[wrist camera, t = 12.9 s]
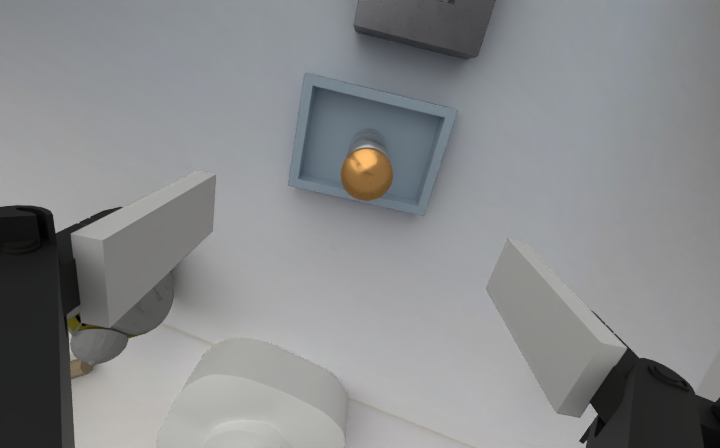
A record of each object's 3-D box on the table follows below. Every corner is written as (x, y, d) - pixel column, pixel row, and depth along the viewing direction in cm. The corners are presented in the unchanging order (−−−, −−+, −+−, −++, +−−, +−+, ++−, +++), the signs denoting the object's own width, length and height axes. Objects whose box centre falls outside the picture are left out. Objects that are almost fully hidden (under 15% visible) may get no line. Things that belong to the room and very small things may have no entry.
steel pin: (355, 124, 38) (346, 143, 25) (389, 132, 38) (398, 156, 25) (347, 159, 39) (336, 194, 26) (380, 166, 40) (385, 205, 27)
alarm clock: (116, 227, 44) (-1, 291, 31) (160, 211, 43) (59, 270, 29) (163, 298, 48) (79, 383, 35) (204, 285, 47) (134, 368, 33)
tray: (293, 178, 41) (287, 185, 38) (309, 73, 37) (304, 72, 34) (420, 207, 42) (423, 216, 39) (451, 108, 37) (457, 109, 35)
